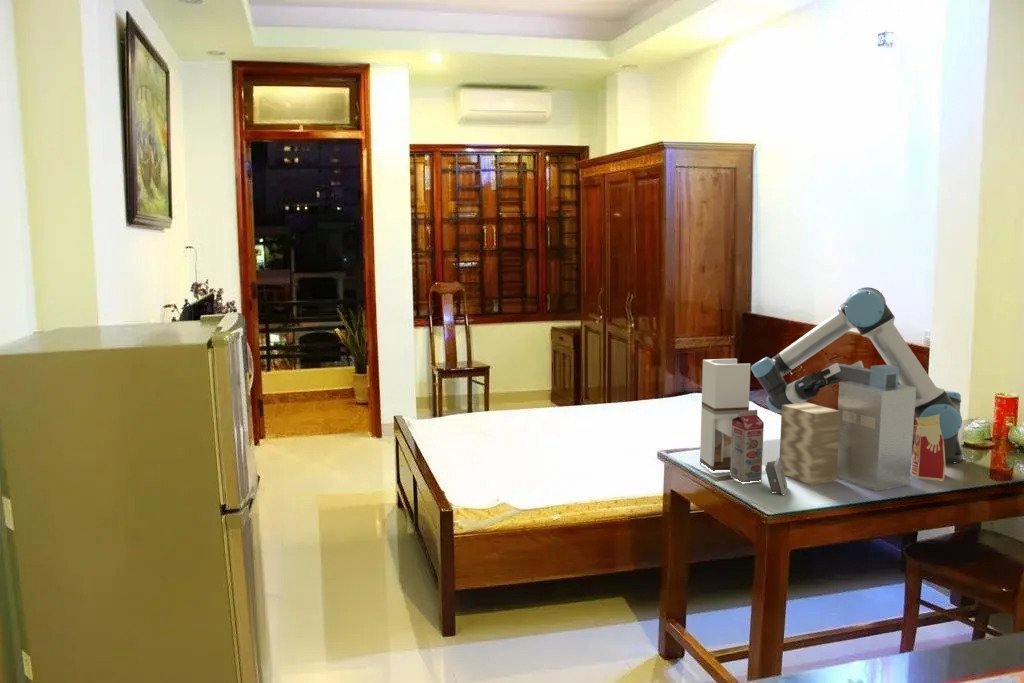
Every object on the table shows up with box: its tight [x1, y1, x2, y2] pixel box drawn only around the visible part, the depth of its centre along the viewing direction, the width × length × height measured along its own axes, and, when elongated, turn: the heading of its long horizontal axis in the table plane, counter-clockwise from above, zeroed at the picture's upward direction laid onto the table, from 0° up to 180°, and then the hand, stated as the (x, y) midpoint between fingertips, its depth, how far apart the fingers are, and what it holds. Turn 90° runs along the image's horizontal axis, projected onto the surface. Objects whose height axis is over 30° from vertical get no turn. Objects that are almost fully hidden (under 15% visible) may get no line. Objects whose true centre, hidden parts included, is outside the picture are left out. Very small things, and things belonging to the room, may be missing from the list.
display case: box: [699, 358, 751, 471], centre depth 259 cm, size 11×11×35 cm
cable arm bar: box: [828, 362, 899, 389], centre depth 248 cm, size 22×6×6 cm, turn 25°
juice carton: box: [729, 409, 765, 482], centre depth 247 cm, size 7×7×22 cm
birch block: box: [779, 401, 840, 486], centre depth 250 cm, size 14×10×22 cm
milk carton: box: [910, 414, 946, 482], centre depth 250 cm, size 9×9×20 cm
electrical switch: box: [764, 457, 788, 495], centre depth 238 cm, size 9×5×9 cm, turn 157°
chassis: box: [837, 380, 916, 492], centre depth 245 cm, size 16×14×30 cm
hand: (850, 365), depth 252 cm, fingers open, 9 cm apart
